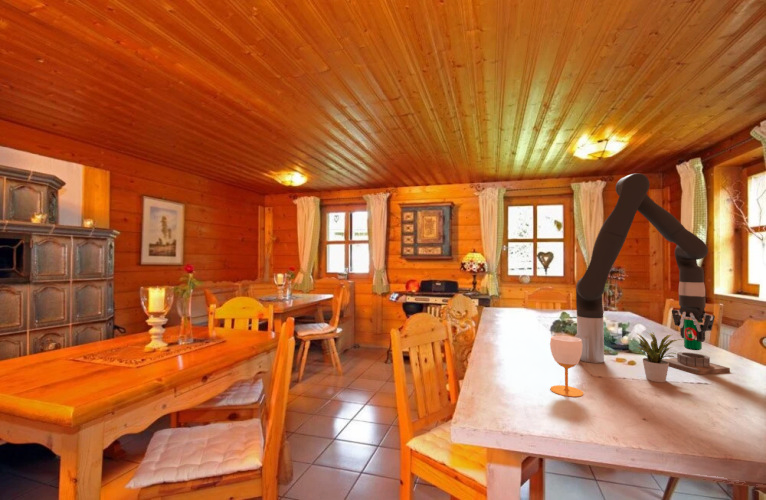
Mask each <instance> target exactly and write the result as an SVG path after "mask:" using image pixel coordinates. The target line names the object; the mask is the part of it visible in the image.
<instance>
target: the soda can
mask: <svg viewBox="0 0 766 500" xmlns="http://www.w3.org/2000/svg"><path fill="white" fill-rule="evenodd" d="M698 322H699V323H701V321H698ZM700 326H701V325H700ZM697 331H698V330H697V327H696V326H695V325H694V321H693V319H692V318H691V317H688V316H687V317H686V316H685V318H684V338H683V339H685V340H683V347H684V348H685V350H691V351H701V350H702V349H703V342H698V341H697Z"/></svg>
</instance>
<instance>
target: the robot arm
mask: <svg viewBox="0 0 766 500" xmlns="http://www.w3.org/2000/svg"><path fill="white" fill-rule="evenodd" d="M650 184H651V183H650V180H649V178H648V176H647V175H645V174H643V173H637V172H636V173H631V174H628V175H626V176H624V177H621V178H620V179H619V180H618V181H617V182H616V184H615V192H616V194H617V196H618V199H617V202H616V205H615V207H614V208H613V210H612V211H611V213H610V214H609V215H608V217H607V218H606V219H605V221H604V222H603V224H602V225H601V227H600V229H599V232H598V234H597V237H596V239H595V242H594V244H593V245H594V246H593V249H592V253H591V257H590V261H589V264H588V267H587V268H586V270H585V272H584V274H583V276H582V277H581V278H579V280H577V282H576V285H575V300H576V301H575V302H576V303H575V305H576V306H575V307H576V334H575V335H574V337H576V338H579V339H581V340H582V355H581V358H580V360H579V361H582V362H584V363H595V364H597V363H598V364H599V363H604V362H605V346H604V345H605V340H604V336H605V334H604V333H605V332H604V330H605V327H604V308H603V294H604V291H605V288H606V284H607V281H608V278H609V274H610V272H611V269H612V268H613V265H614V264H615V262H616V260H617V258H618V257H619V255H620V252H621V250H622V248H623V247H624V244H625V242H626V239H627V237H628V235H629V234H628V233H629V231H630V230H631V227H632V224H633V221H634V219H635V215H636V213H637V211H638V213H640V214H641V215H642V216H643V217H644V218H645V219H646V220H647V221H648V222H649V223H650V224H651V225H652V226H653V227H654V228H655V230H656V231H657V232H658V233H659V234H660V235H661V236H662V237H663V238H664V240H666V241H667V242H670V243H673V244H675V245H676V247H675V249H674V258H675V261H676V265H677V268H678V271H679V273H678V276H679V277H678V279H679V280H678V281H679V283H678V306H679V309H672V310H671V314H672V315H671V316H672V319H673V323H674V326H677V327H679V329H680V331H679V332H680V337H681V338H682V339H684V318H685V316H686V317H687V316H688V317H691V318H692V319H693V321H694V325H695V326H696V327H697V330H698V331H697V341H698V342H702V343H704V342H705V341H706V332H709V331H710V332H711V331H712V330H713V325H714V322H715V318H716V317H715V315H714V314H709V313H706V310H705V308H706V307H707V306H706V286H705V272H704V268H703V267H701V266H700V265H698V261H697V260H702V259H705V257H707V256H708V253H709V248H708V246H707V244H706V243H705V242H704V240H702V239H701V238H699V237H698V236H697V235H695V234H694V233H693V232H692V231H689V230H688V229H687V228H686V227H685V226H684V225H683V224H682V222H680V220H678V219H677V218H676V217H675V215H673V214H672V213H671V212H669V211H668V210H667V209H665V208H664V207H662V206H661V205H659V204H657V203H656V202H655V201H654V200H653V199H652V198H651V197H650V196H649V195H648V192H649V189H650ZM698 321H701V323H699V322H698ZM700 325H701V326H700Z"/></svg>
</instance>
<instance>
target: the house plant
mask: <svg viewBox="0 0 766 500" xmlns="http://www.w3.org/2000/svg"><path fill="white" fill-rule="evenodd" d="M645 331H646V330H645ZM646 332H647V333H648V331H646ZM635 333H636V332H635ZM636 335H638V336H639V337H640V338H639V337H637V336H634V337H635V338H637V339H639V344H640V346H635V348H636V349H639V350H641V351H643V352H645V353H646V354H645V353H643V352H641V351H637V353H638V354H639V353H640V354H642V355H644V356H646V357H644V358H642V363H643V367H644V373H645V378H646V379H647V380H648V381H652V382H655V383H657V382H658V383H666V381H667V376H668V370H669V367H670V366H669V362H667V361H665V360H662V359H665V357H667V358H668V357H669V358H670V357H671V358H675V356H674V355H677V352H668V351H669V350H670V349H672V348H673V347H669V346H670V345H671V344H672V343H674V342H677V341H684V340H685V339H684V338H682V339H681V338H679V339H669V338H670V337H671V336H672V334H669V335H665V336H664V338H662V340H661V341H660V343H659V346H658V339H657V337H656V335H655V333H654V332H652V333H651V332H649V336H650V337H651V339H652V340H651V341H650V344H649V342H648V340H647V339H646V338H645V337H643V336H642V335H641V334H639V333H636ZM667 352H668V353H667ZM670 354H674V355H670Z"/></svg>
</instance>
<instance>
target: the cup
mask: <svg viewBox="0 0 766 500" xmlns="http://www.w3.org/2000/svg"><path fill="white" fill-rule="evenodd" d="M549 345H550V352H551V356H552V358H553V360H554V361H555V362H556V363H557V365H559V366H560V367H563V368H564V385H560V384H559V385H558V384H557V385H552V386H551V387H550V390H551V392H552V393H554V394H556V395H559V396H562V397H563V396H564V397H568V398H578V397H579V398H580V397H582V396H584V391H582V390H581V389H579V388H577V387H574V386H570V385H569V369H570V368H573V367H575V366H577V365H578V364H579V362H580V361H581V360H580V358H581V355H582V340H581V339H579V338H576V337H575V336H572V335H571V336H569V335H553V336H551V337H550V343H549Z"/></svg>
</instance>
